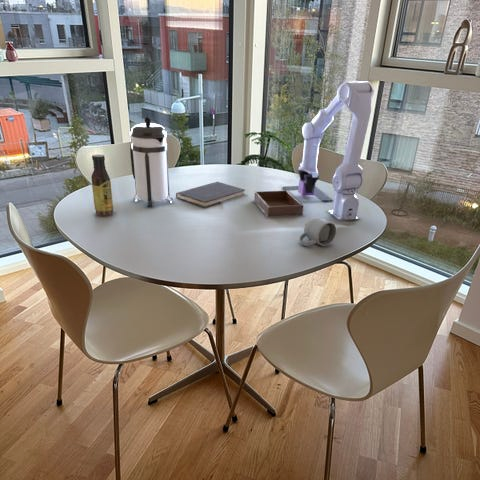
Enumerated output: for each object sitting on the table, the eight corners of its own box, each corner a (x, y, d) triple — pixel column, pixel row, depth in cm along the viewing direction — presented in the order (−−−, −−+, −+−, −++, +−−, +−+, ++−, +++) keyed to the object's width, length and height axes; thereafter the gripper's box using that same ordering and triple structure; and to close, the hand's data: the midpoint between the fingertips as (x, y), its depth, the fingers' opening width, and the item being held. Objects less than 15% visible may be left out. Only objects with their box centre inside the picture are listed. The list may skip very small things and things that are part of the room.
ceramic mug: (318, 235, 153) (321, 212, 149) (335, 243, 147) (338, 220, 143) (293, 241, 148) (295, 218, 144) (309, 250, 142) (312, 227, 138)
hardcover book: (244, 195, 187) (245, 189, 186) (204, 208, 172) (204, 202, 171) (216, 186, 195) (216, 181, 194) (175, 198, 180) (175, 192, 179)
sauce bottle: (109, 217, 160) (102, 158, 149) (92, 215, 161) (84, 157, 150) (117, 211, 165) (110, 154, 155) (100, 209, 166) (93, 152, 156)
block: (314, 195, 185) (315, 182, 182) (302, 195, 184) (303, 183, 181) (309, 191, 189) (310, 179, 186) (298, 191, 188) (299, 179, 185)
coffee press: (177, 196, 183) (174, 114, 167) (168, 209, 169) (163, 121, 153) (134, 193, 184) (127, 111, 168) (121, 206, 170) (112, 118, 154)
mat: (332, 201, 184) (332, 199, 184) (299, 202, 181) (299, 201, 181) (313, 186, 201) (313, 185, 200) (282, 187, 198) (283, 186, 197)
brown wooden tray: (302, 216, 168) (303, 205, 166) (267, 218, 165) (268, 207, 163) (286, 200, 183) (287, 190, 181) (254, 202, 180) (254, 191, 178)
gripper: (294, 151, 184) (290, 185, 191) (307, 160, 172) (303, 196, 179) (310, 151, 185) (306, 185, 192) (324, 160, 173) (320, 195, 181)
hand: (306, 190), depth 186 cm, fingers closed on block, 5 cm apart
